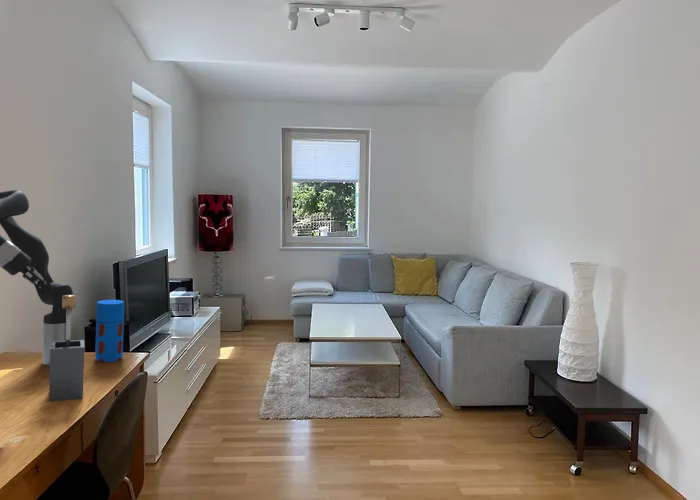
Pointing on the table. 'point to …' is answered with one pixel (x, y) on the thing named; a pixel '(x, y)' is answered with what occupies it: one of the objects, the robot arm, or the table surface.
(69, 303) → the plunger
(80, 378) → the press tower
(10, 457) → the table surface
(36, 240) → the robot arm
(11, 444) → the table surface
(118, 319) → the thermos
